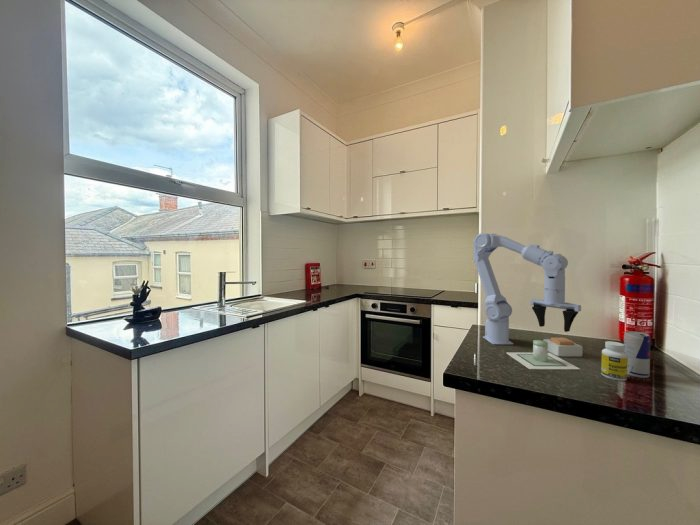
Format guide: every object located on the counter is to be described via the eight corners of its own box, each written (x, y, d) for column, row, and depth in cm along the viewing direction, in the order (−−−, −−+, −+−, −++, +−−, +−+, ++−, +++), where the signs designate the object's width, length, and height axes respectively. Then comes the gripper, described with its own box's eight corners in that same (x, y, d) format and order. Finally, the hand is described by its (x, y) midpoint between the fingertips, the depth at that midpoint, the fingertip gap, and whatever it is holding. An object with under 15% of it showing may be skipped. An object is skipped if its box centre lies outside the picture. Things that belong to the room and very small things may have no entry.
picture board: (506, 353, 100) (506, 352, 100) (549, 353, 99) (549, 352, 99) (529, 369, 86) (529, 368, 86) (580, 369, 85) (580, 368, 85)
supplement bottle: (606, 379, 78) (607, 345, 78) (597, 372, 83) (598, 339, 83) (631, 382, 77) (632, 347, 76) (620, 374, 82) (621, 341, 81)
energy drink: (655, 379, 79) (656, 336, 78) (632, 377, 80) (633, 335, 79) (639, 371, 84) (640, 331, 83) (618, 369, 85) (619, 330, 84)
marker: (530, 357, 95) (530, 339, 94) (542, 357, 94) (542, 339, 94) (537, 362, 91) (537, 343, 90) (550, 362, 90) (550, 343, 90)
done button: (550, 344, 102) (550, 337, 102) (564, 344, 102) (564, 337, 102) (559, 348, 98) (560, 341, 98) (574, 348, 97) (574, 341, 97)
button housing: (543, 348, 104) (543, 339, 104) (565, 348, 104) (565, 339, 104) (558, 356, 96) (558, 346, 96) (582, 356, 96) (582, 346, 96)
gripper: (525, 288, 101) (525, 325, 101) (574, 292, 88) (573, 335, 88) (536, 286, 104) (536, 323, 104) (584, 291, 91) (583, 332, 92)
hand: (554, 328), depth 97 cm, fingers open, 7 cm apart
